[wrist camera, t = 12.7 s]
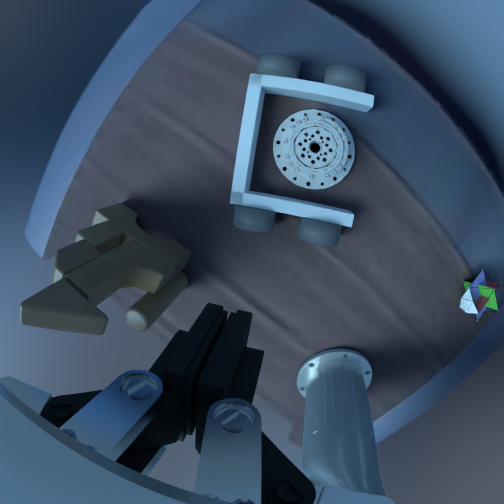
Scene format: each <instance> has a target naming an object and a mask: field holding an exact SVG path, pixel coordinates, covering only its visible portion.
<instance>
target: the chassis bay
mask: <svg viewBox="0 0 504 504" xmlns="http://www.w3.org/2000/svg"><path fill="white" fill-rule="evenodd" d="M299 70H300V61H299V60H297V59H296V58H294V57H291V56H288V55H285V54H279V53H266V54H262V55H260V56H259V60H258V65H257V71H256V74H252V73H250V78H249V84H248V90H247V95H246V101H245V107H244V113H243V119H242V125H241V131H240V138H239V144H238V150H237V157H236V163H235V170H234V177H233V184H232V190H231V198H230V203H231V204H235V208H234V215H233V222H232V225H233V226H235V227H236V228H239V229H242V230H246V231H251V232H258V233H268V232H272V231H273V228H274V222H275V217H276V212H280V213H285V214H290V215H295V216H300V217H301V220H300V225H299V230H298V235H297V236H298V237H299V238H300V239H302V240H304V241H306V242H309V243H312V244H316V245H320V246H328V247H334V246H337V245H338V241H339V237H340V232H341V228H342V225H343V226H347V227H352V223H353V218H354V214H353V213H352V212H351V211H350V210H346V209H341V208H337V207H332V206H328V205H323V204H318V203H314V202H309V201H304V200H299V199H294V198H289V197H283V196H278V195H273V194H267V193H261V192H256V191H250V183H251V177H252V170H253V164H254V158H255V152H256V145H257V139H258V133H259V127H260V121H261V114H262V108H263V102H264V96H265V93H268V94H276V95H283V96H290V97H297V98H303V99H308V100H314V101H319V102H324V103H329V104H333V105H338V106H342V107H347V108H351V109H355V110H359V111H363V112H368V111H369V110H370V109H371V108H373V102H374V96H373V95H370V94H366V93H365V87H366V77H367V75H366V74H365V73H364V72H363V71H362V70H360V69H358V68H355V67H352V66H348V65H343V64H332V65H328V66H326V68H325V76H324V83H318V82H313V81H307V80H301V79H298V77H299Z"/></svg>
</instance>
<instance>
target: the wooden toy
mask: <svg viewBox="0 0 504 504" xmlns="http://www.w3.org/2000/svg"><path fill="white" fill-rule="evenodd" d="M137 218H138V214H137V213H136V212H134V211H133V210H131V209H130V208H129V207H127V206H126V205H124V204H123V203H120V204H116V205H112V206H109V207H105V208H102V209H98V210H97V211H96V213H95V216H94V219H93V222H92V225H91V226H90V227H87V228H85V229H82V230H79V231H78V232H77V235H76V238H75V242H74V243H73V244H71V245H68V246H66V247H64V248H61V249H59V250H58V251H57V252H56V256H55V261H54V268H53V273H52V284H51V285H50V286H48V287H46V288H45V289H43V290H41V291H40V292H38V293H37V294H35V295H33V296H31V297H30V298H28V299H26V300H25V301H23V302H22V303H21V305H20V323H22V324H23V325H28V326H33V327H40V328H46V329H52V330H59V331H67V332H75V333H83V334H92V335H102V334H104V331H105V328H106V325H107V323H108V317H107V316H106V315H105V314H104V313H103V312H102V311H101V310H99V309H98V308H97V307H96V306H97V305H98V304H100V303H101V302H102V301H104V300H105V299H106V298H108V297H109V296H110V295H112V294H113V293H114V292H116V291H117V290H118V289H120V288H126V287H135V288H139V289H142V290H145V291H148V292H147V293H146V294H145V295H144V296H142V297H141V298H140V299H139V300H138V301H137V302H136V303H134V304H133V305H132V306H131V307H130V308H129V309H128V310H127V312H126V321H127V323H128V324H129V326H130V327H131V328H132V329H134V330H135V331H138V332H144V331H146V330H147V329H148V328H149V327H150V326H151V325H152V324H153V323H154V322H155V321H156V319H157V318H158V317H159V316H160V315H161V314H162V313H163V312H164V311H165V310H166V308H167V307H168V306H169V305H170V304H171V303H172V302H173V301H174V300H175V299H176V298H177V296H178V295H179V294H180V293H181V292H182V291H183V290H184V289H185V288H186V287H187V285H188V278H187V276H186V274H185V273H184V272H182V270H183V269H184V267H185V266H186V264H187V262H188V260H189V258H190V257H191V255H192V252H191V251H190V250H188V249H187V248H186V247H184V246H183V245H181V244H180V243H178V242H177V241H175V240H174V239H170V240H164V239H159V238H156V237H153V236H151V235H149V234H148V233H146V232H144V231H143V230H142V229H141V228H140V227H139V226H138V225H137V223H136V220H137Z"/></svg>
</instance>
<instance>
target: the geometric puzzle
mask: <svg viewBox="0 0 504 504" xmlns="http://www.w3.org/2000/svg"><path fill="white" fill-rule="evenodd" d="M483 270H484V269H482V271H481V270H480V271H481V272H480V273H479V275H478V276H477V277H476V279H475V280H474V281H473V283H469V282H465V281H463V283H464V287H465V290H466V292H465V294H464V295H463V296H462V298H461V302H460V307H459V308H461V309H463V310H464V311H465V312H466V313H473V314H474V315H475V314H476V316H475V317H477V318H476V319H477V321H478V319H479V318H480V316H481V315H482V314H483V312H484V311H485V309H486V308H487V307H489V308H492V309H496V311H498V306H499V304H498V306H497V300H496V295H495V293H496V292H495V290H496V289H498V288H497V287H499V285H500V284H501V283H498V282H493V281H490V280H485V275H484V272H485V270H484V271H483ZM485 274H486V273H485ZM489 275H490V274H489ZM472 276H473V275H472ZM486 276H487V275H486ZM488 279H489V278H488ZM494 279H495V278H494ZM465 280H466V279H465ZM495 280H496V279H495ZM466 281H471V280H466ZM462 286H463V285H462ZM496 291H497V290H496ZM499 294H500V292H499ZM461 295H462V294H461ZM496 311H495V312H496ZM490 312H492V311H490ZM485 313H487V312H485ZM493 313H494V312H493ZM491 314H492V313H491ZM469 315H470V314H469ZM489 315H490V314H489ZM487 316H488V315H487ZM473 318H474V317H473Z"/></svg>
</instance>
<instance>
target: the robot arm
mask: <svg viewBox="0 0 504 504" xmlns="http://www.w3.org/2000/svg"><path fill="white" fill-rule="evenodd" d="M251 320H252V313H251V312H246V311H242V310H237V312H236V313H233V312H231V314H230V316H229V318H228V320H227V311H225V310H223V306H220V305H216V304H212V303H208V304H207V305H206V306H205V308H204V309H203V311H202V312H201V314H200V315H199V317H198V318H197V320H196V321H195V323H194V324H193V326H192V327H191V329H190V330H189V331H188V332H186V331H183V330H179V331H178V332H177V333H176V334H175V335H174V337H173V338H172V340H171V341H170V342H169V344H168V345H167V347H166V348H165V349H164V351H163V352H162V353H161V355H160V356H159V358H158V359H157V360H156V362H155V363H154V364H153V366H152V367H151V368H150V370H149V371H146V370H139V369H138V370H130V371H126V372H124V373H123V374H121V375H120V376H118V377H117V378H116V379H115V380H114V381H113V382H112V383H111V384H109V385H108V386H107V387H106V388H105V389H104V390H98V391H92V392H85V393H78V394H70V395H61V396H57V397H52V395H51V394H50V393H48V392H45V391H43V390H41V389H38V388H36V387H33V386H31V385H29V384H26V383H24V382H22V381H20V380H18V379H16V378H13V377H3V378H1V379H0V504H394V502H393V501H392V500H390V499H389V498H387V496H386V492H385V489H384V486H383V482H382V477H381V472H380V466H379V460H378V454H377V447H376V441H375V434H374V428H373V422H372V417H371V411H370V406H369V400H368V395H367V390H366V389H367V388H368V386H369V385H370V383H371V380H372V368H371V365H370V363H369V361H368V359H367V358H366V357H365V356H364V355H362V354H361V353H359V352H357V351H354V350H350V349H343V348H337V349H329V350H325V351H322V352H320V353H317V354H315V355H313V356H312V357H310V358H309V359H308V360H307V361H305V362H304V363H303V365H302V366H301V367H300V369H299V371H298V375H297V387H298V390H299V392H300V393H301V394H302V396H303V397H305V398H306V400H305V421H304V437H303V451H302V468H303V471H304V474H305V475H304V474H303V473H302V472H301V471H300V470H299V469H298V468H297V467H296V466H295V465H294V464H293V463H292V462H291V461H290V460H289V459H288V458H287V457H286V456H285V455H284V454H283V453H282V452H281V451H280V450H279V449H278V448H277V447H276V446H275V445H274V444H273V443H272V441H271V440H269V438H268V437H267V436H266V435H265V434H264V433H263V432H262V429H261V427H262V423H261V422H262V421H261V415H260V413H259V411H258V409H257V408H256V407H255V406H254V405H252V401H253V397H254V393H255V389H256V385H257V381H258V377H259V373H260V369H261V364H262V360H263V356H264V351H262V350H258V349H253V348H249V347H247V341H248V336H249V331H250V325H251ZM226 321H227V322H226ZM195 427H196V435H195V436H196V440H195V448H196V450H197V451H198V453H199V454H200V459H199V464H198V470H197V475H196V481H195V487H194V493H193V492H190V491H187V490H184V489H181V488H178V487H174V486H172V485H169V484H166V483H164V482H161V481H158V480H155V479H153V478H151V477H148V476H147V475H148V473H149V472H150V471H151V469H152V468H153V467H154V466H155V464H156V463H157V462H158V460H159V459H160V458H161V456H162V455H163V454H164V452H165V451H166V449H167V447H168V444H171V443H175V442H177V440H180V441H184V439H185V436H186V434H188V435H192V434H193V432H194V429H195Z"/></svg>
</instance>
